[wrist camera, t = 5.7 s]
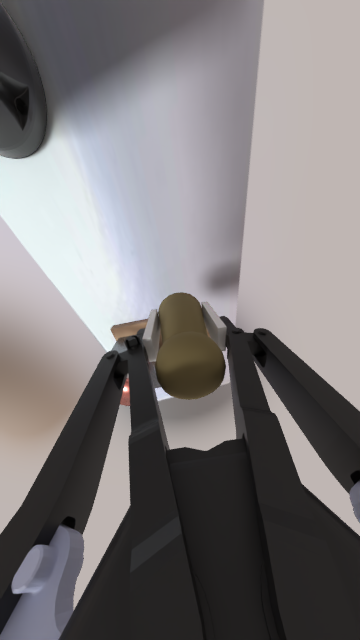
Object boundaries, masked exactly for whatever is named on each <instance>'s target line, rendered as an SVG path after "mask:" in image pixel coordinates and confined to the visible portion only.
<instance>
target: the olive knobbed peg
mask: <svg viewBox="0 0 360 640" xmlns="http://www.w3.org/2000/svg"><path fill="white" fill-rule="evenodd" d="M158 314H159V321H160V328H161V335H162V342H163V345H162V346H161V348H160V350H159V351H158V354H157V358H156V363H155V371H156V376H157V381H158V382H159V384H160V385H161V387H162V388H163V390H164V391H165V392H166V393H168V394H169V395H171V396H173V397H176V398H179V399H189V400H190V399H198V398H201V397H204V396H206V395H208V394H210V393H212V392H214V391H215V390H216V389H217V388H218V387H219V386H220V385H221V383H222V381H223V379H224V375H225V369H226V365H225V360H224V356H223V353H222V351H221V349H220V347H219V346H218V345H217V344H216V343H215V342H214V341H213V340H212V339H211V338H210V337H208V334H207V330H206V325H205V321H204V317H203V312H202V308H201V305H200V303H199V301H198V300H197V299H196V298H195V297H193V296H192V295H190V294H187V293H174V294H172V295H169V296H168V297H167V298H165V299H164V300H163V301H162V303H161V305H160V307H159V311H158Z"/></svg>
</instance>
